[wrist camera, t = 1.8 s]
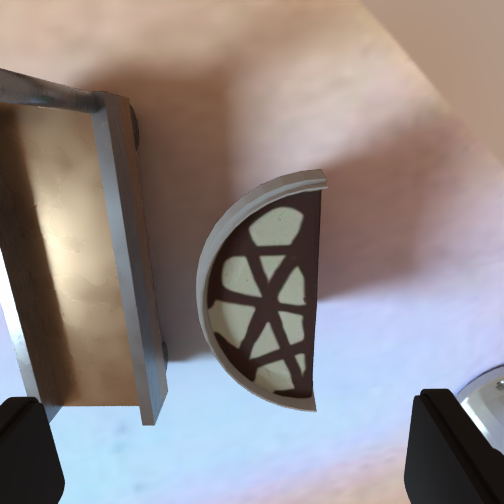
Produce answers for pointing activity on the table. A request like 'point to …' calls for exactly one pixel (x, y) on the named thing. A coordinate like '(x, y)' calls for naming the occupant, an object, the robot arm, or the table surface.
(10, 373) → the table surface
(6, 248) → the trolley
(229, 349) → the food container
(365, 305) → the table surface
